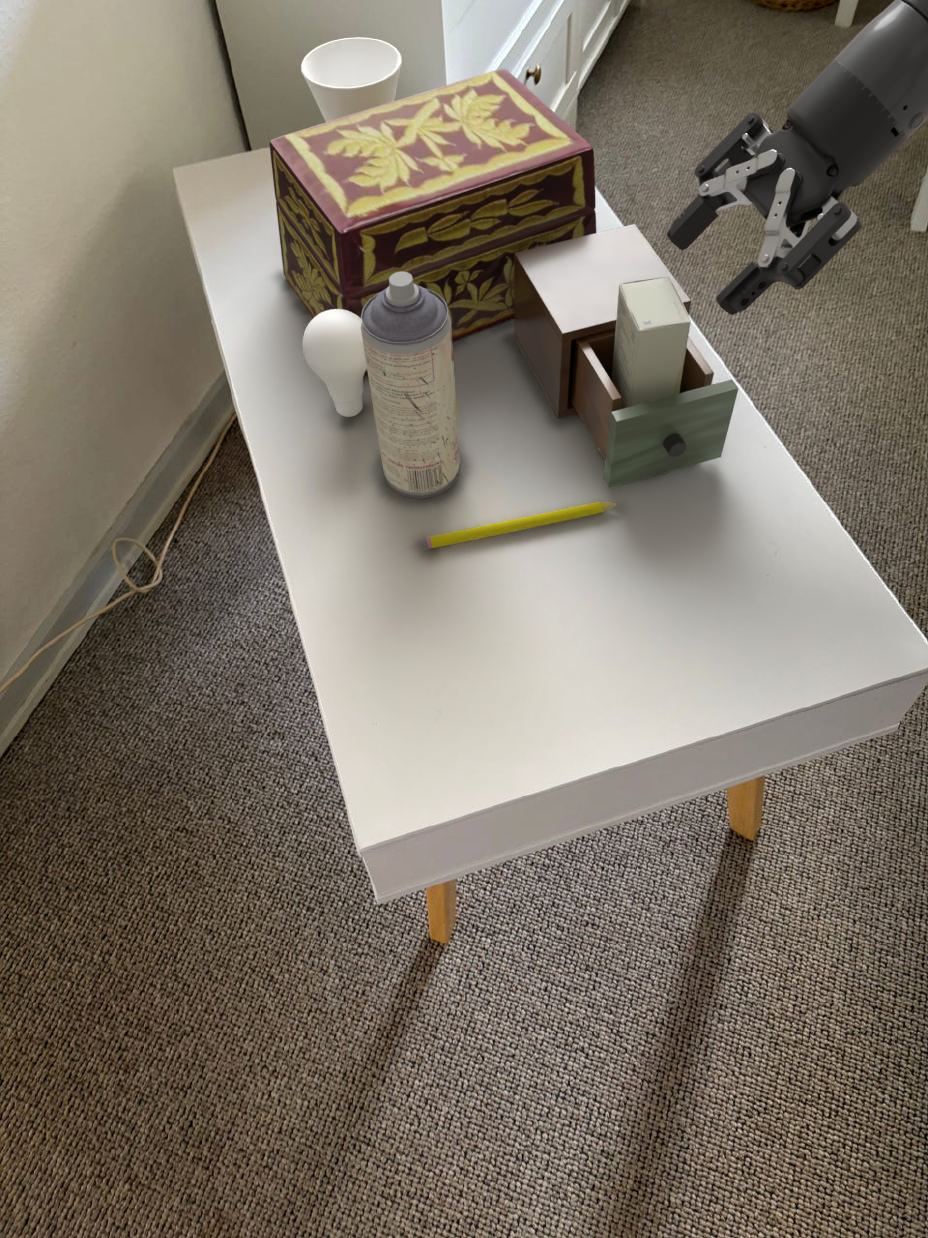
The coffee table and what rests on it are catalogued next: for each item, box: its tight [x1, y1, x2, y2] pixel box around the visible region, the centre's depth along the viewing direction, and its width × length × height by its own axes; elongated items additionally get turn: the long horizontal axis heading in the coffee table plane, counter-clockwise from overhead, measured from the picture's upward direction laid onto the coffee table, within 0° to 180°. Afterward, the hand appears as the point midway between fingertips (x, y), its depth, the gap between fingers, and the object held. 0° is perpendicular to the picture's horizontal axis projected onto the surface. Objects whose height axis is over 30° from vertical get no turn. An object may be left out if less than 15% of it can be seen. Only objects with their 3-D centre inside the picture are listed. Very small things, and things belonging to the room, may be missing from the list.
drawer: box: [571, 328, 739, 490], centre depth 84 cm, size 12×11×8 cm
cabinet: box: [513, 223, 692, 420], centre depth 90 cm, size 12×12×10 cm
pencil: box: [425, 501, 617, 550], centre depth 82 cm, size 16×1×1 cm, turn 103°
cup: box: [300, 37, 403, 122], centre depth 107 cm, size 10×10×14 cm
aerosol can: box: [361, 272, 461, 499], centre depth 79 cm, size 7×7×20 cm
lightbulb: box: [302, 309, 367, 418], centre depth 87 cm, size 6×6×11 cm
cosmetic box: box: [611, 277, 692, 409], centre depth 82 cm, size 6×4×12 cm
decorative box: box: [269, 68, 597, 376], centre depth 96 cm, size 28×19×15 cm
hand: (698, 274), depth 76 cm, fingers open, 8 cm apart
